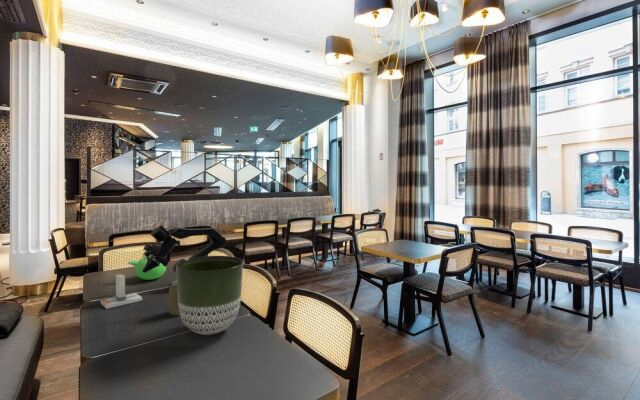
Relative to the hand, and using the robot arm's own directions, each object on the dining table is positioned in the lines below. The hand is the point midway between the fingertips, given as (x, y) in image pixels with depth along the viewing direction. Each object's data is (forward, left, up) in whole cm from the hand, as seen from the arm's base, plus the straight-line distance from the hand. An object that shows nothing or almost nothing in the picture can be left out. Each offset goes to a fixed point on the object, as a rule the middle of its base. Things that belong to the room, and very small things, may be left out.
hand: (143, 272), depth 161 cm
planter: (-44, +37, -13) cm, 59 cm away
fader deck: (+7, +7, -13) cm, 16 cm away
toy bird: (+11, -31, -13) cm, 35 cm away
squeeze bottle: (-25, +20, -13) cm, 34 cm away
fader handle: (+7, +7, -11) cm, 15 cm away
